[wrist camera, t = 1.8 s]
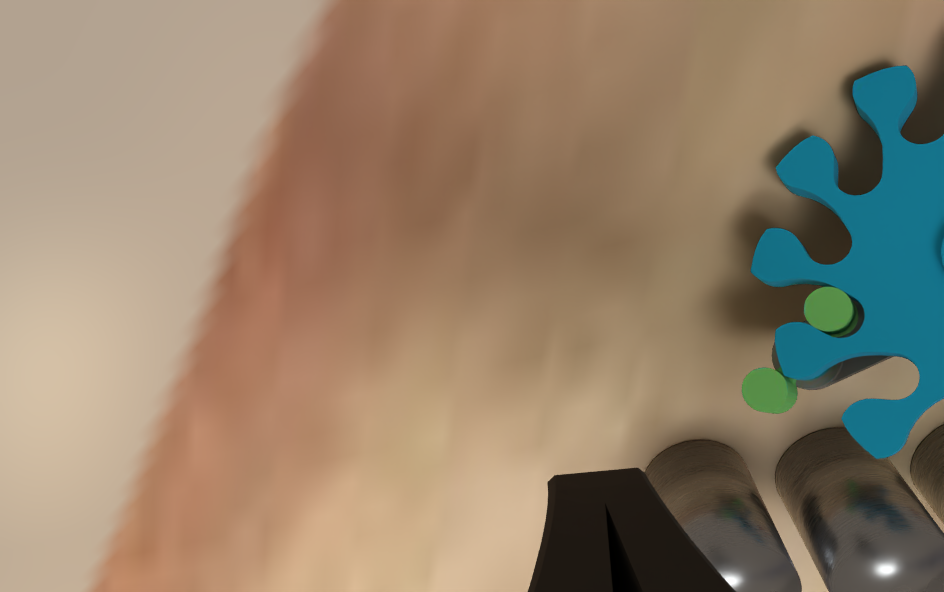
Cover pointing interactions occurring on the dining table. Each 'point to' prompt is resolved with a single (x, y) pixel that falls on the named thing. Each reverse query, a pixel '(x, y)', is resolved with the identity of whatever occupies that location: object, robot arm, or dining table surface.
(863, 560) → the spacer field
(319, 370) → the dining table surface
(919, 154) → the gear
